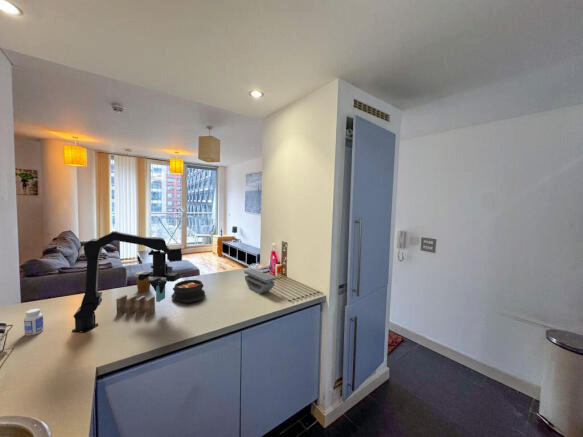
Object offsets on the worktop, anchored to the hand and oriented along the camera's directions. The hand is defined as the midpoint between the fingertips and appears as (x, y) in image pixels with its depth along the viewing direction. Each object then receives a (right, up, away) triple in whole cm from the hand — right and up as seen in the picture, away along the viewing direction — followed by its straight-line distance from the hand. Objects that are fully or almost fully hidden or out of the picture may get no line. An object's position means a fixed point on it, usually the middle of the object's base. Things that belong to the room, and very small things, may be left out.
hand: (159, 293), depth 117 cm
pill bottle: (-43, -11, -18) cm, 48 cm away
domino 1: (-20, -10, +2) cm, 23 cm away
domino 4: (-5, -11, +1) cm, 12 cm away
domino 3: (-10, -11, +1) cm, 15 cm away
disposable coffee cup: (-28, -9, +31) cm, 42 cm away
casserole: (+5, -10, +22) cm, 25 cm away
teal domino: (0, -4, +1) cm, 4 cm away
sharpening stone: (+45, -10, +37) cm, 59 cm away
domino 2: (-15, -11, +1) cm, 19 cm away
